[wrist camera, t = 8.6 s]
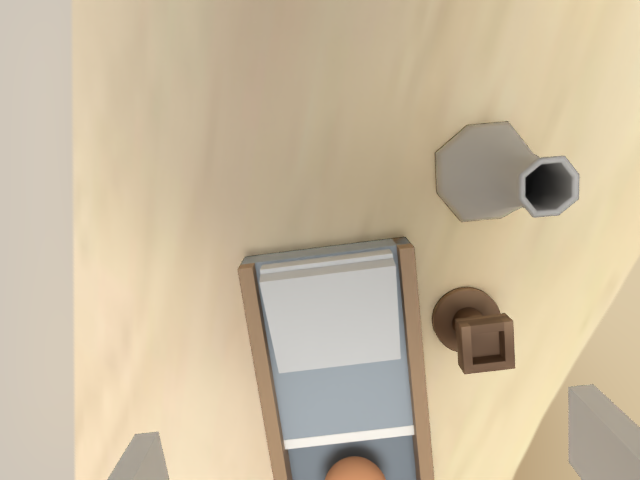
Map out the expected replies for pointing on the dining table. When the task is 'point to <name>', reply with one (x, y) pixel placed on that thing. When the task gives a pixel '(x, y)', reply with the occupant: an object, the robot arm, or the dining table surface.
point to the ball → (354, 470)
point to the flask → (501, 175)
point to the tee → (475, 330)
